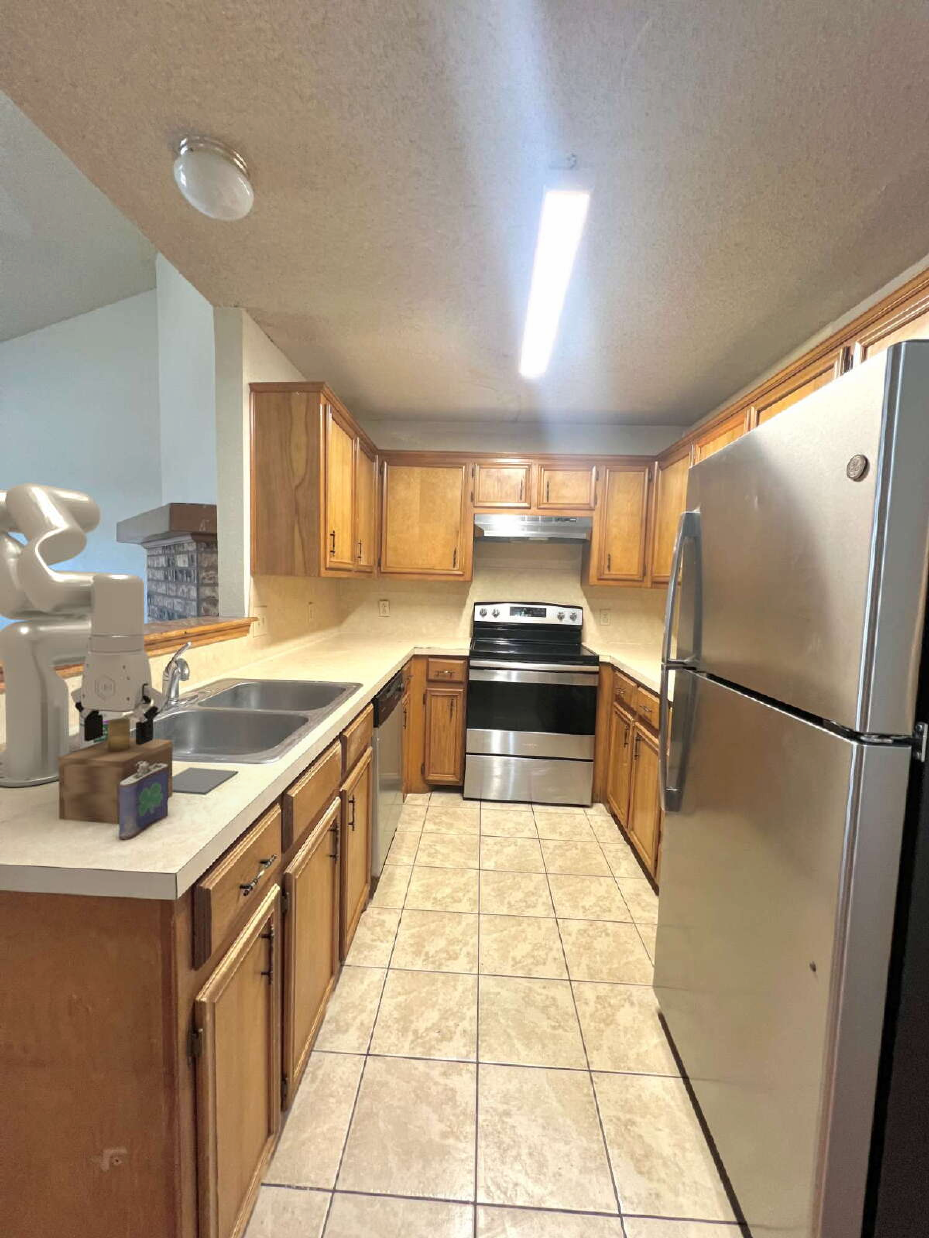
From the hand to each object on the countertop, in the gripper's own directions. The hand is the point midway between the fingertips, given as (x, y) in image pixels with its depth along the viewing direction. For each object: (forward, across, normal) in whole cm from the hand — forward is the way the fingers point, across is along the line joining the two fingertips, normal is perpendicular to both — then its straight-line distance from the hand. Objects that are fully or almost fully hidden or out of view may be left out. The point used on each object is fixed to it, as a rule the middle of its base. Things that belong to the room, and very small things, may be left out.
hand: (119, 740), depth 84 cm
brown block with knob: (+12, 0, 0) cm, 12 cm away
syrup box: (+12, -15, +12) cm, 23 cm away
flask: (+12, +9, -6) cm, 16 cm away
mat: (+12, +6, +12) cm, 18 cm away
